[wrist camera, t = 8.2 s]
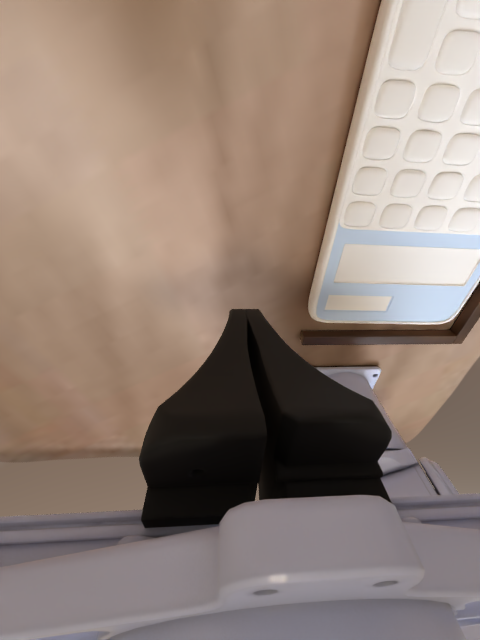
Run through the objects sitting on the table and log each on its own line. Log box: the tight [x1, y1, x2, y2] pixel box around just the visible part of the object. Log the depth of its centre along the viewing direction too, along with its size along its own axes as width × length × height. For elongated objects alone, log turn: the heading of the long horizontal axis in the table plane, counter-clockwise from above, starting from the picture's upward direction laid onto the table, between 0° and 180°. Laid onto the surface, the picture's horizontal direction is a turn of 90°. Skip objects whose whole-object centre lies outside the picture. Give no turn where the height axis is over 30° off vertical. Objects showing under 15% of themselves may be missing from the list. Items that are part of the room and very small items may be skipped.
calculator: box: [308, 0, 480, 324], centre depth 17 cm, size 13×20×2 cm, turn 177°
